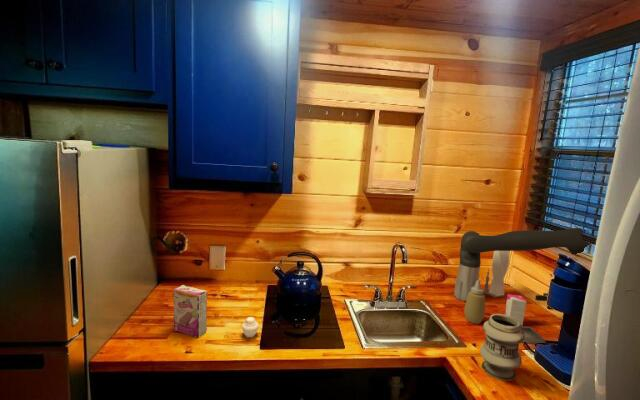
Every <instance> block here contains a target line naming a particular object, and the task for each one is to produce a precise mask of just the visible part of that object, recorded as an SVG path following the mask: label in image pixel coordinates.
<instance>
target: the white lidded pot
mask: <svg viewBox="0 0 640 400" xmlns="http://www.w3.org/2000/svg"><path fill="white" fill-rule="evenodd" d="M259 328H260V324H259V323H258V321H256V318H255V317H254V316H253V317H252V316H250V317H249V316H248V317H246V318H245V321H244V322H243V323H242V324H241V330H242V333H243V334H244V335H245V337H246V338H249V337H250V338H253V337H255V335H256V333H257V332H258V330H259Z"/></svg>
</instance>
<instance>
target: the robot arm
mask: <svg viewBox="0 0 640 400" xmlns="http://www.w3.org/2000/svg"><path fill="white" fill-rule="evenodd" d="M582 229H583V228H582V227H573V228H567V229H559V230H541V229H540V230H536V229H535V230H533V229H532V230H513V231H507V232H504V233H501V234H495V235H494V234H493V235H482V234H481V235H480V233H478V232H476V231H474V230H469V231H466V232H465V233H463V234H462V237H461V241H460V247H459V248H460V250H459V264H458V265H459V266H458V274H457V276H456V278H455V285H454V294H453V295H454V296H455V298H456V299H457V300H458V301H463V302H466V300H467V296H468V293H469V292H470V291H471V288H472V287H475V284H476V281H477V280H480V279H479V277H480V272H481V271H480V269H481V263H482V261H481V253H488V252H489V253H490V252H494V251H510V252H521V251H522V252H526V251H529V252H530V251H537V250H538V251H539V250H545V249H553V248H565V249H567V251H569V252H570V254H571V255H573V254H577V253H581V252H583V251H584V248H585V247H587V248H588V246H590V245H591V243H588V242H586V241H584V240H583V239H582V236H581V234H582V233H583V230H582ZM548 293H549V292H544V293H543V294H541V295H540V294H539V295H538V294H536V295H535V297H534V299H535V300H536V301H538V302H547V298H548V297H547V296H548ZM546 309H547V310H550V311H554V310H553V309H552V308H550V307H549V306H546Z"/></svg>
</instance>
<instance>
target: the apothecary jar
mask: <svg viewBox="0 0 640 400" xmlns="http://www.w3.org/2000/svg"><path fill="white" fill-rule="evenodd" d="M482 328H483V332H484V333H485V341H484V343H482V345H481V346H480V349H479V353H480V356H481V357H482V359H483V360H484V361H483V362H482V363H481V368H482V369H483V370H484V373H486V374H487V375H489V376H490V377H492V378H494V379H497V380H500V381H506V382H508V381H513V380H514V379H516V372H515V371H514V370H515V369H518V368H520V366H522V362H523V360H522V356H521V355H520V352H519V348H520V347H519V346H520V344H521V342H522V341H523V340H524V337H525V336H524V332H523V331H522V329H521V328H520V324H519V322H518V321H517V320H516V319H514V318H512V317H510V316H507V315H504V314H501V313H494V314H491V315H490V316H489V319H488V320H486V321H485V322H484V323H483V325H482Z"/></svg>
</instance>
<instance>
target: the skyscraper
mask: <svg viewBox="0 0 640 400" xmlns="http://www.w3.org/2000/svg"><path fill="white" fill-rule="evenodd" d="M510 253H511V251H493V256H492V263H491V274H492V279H491V281H490V269H489V268H488V271H486V272H487V273H486V274H487V275H486V277H485V284H484V289H483V294H486V295H488V296H491V297H493V298H500V297H505V283H504V279H505V276H506V274H507V273H508V269H509V265H510V257H511V256H510ZM489 281H490V286H489Z"/></svg>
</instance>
